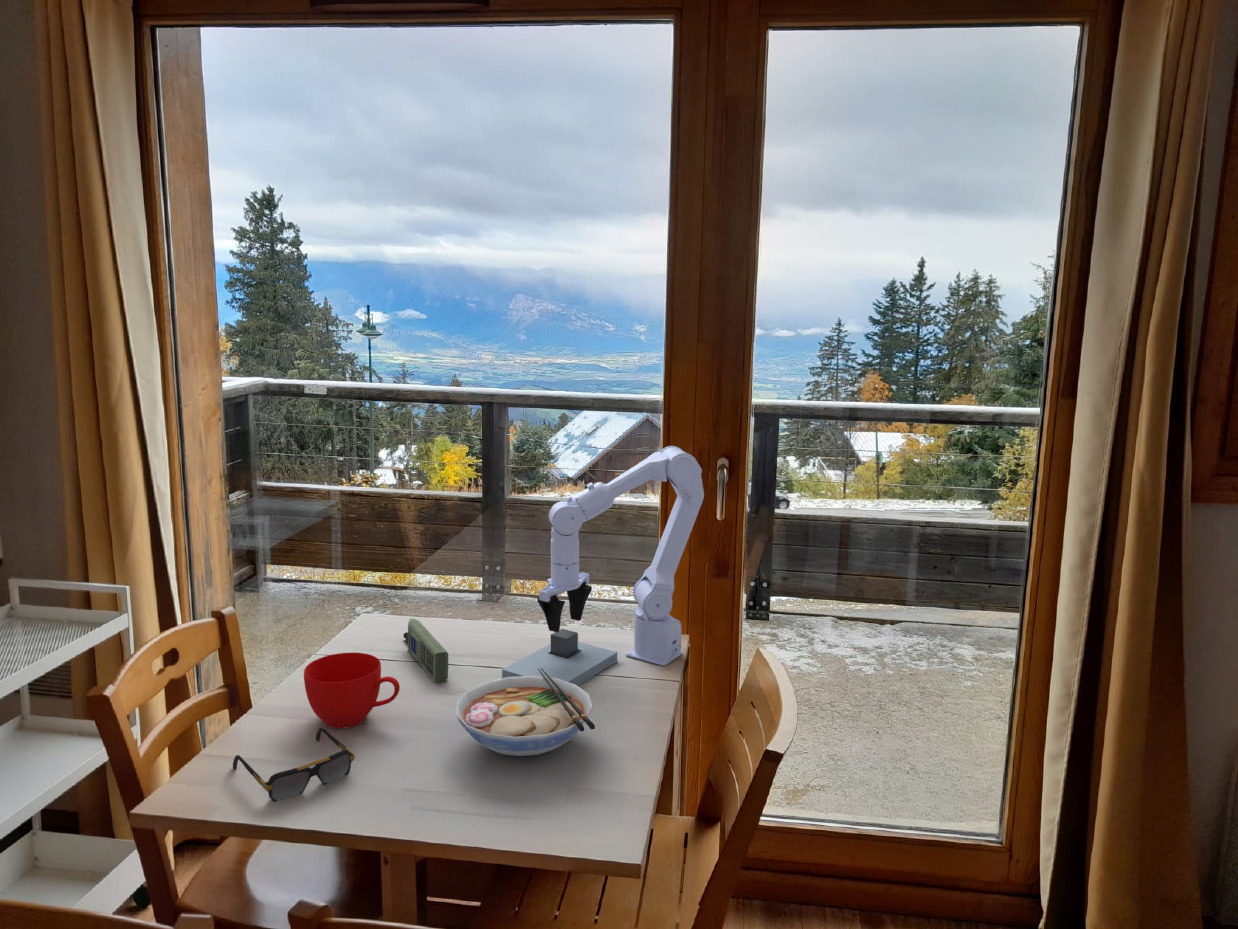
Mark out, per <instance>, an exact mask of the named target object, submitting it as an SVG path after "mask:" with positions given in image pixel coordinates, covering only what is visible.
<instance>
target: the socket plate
mask: <svg viewBox="0 0 1238 929" xmlns="http://www.w3.org/2000/svg"><path fill="white" fill-rule="evenodd" d="M617 662H618V651H614V650H610V649H608V648H607V649H606V648H603V647H599V646H596V645H593V644H588V643H584V642H580V641H578V653H577V654H576V655H574V656H572V657H570V658H568V659H566V658H563V657H559V656H556V655H552V654H551V643H550V644H548V645H545V646H543V647H542V648H540V649H538V650H537V651H535V652H532V653H531V654H528V655H527V656H525V657H522V658H521V659H519V660H517V661H515V662H514V663H512V664H510V665H508V666H506V667H504V668H502V670H501V677H502V678H506V677H519V676H539V677H543V676H542V675H541V673H540V672H539V670H540V671H541V672H542V674H543V675H544V676H545V677H547V676H546V674H545V673H544V672H543V671H542V670H541V668H542V669H543V670H544V671H545V672H546V673H547V675H548V676H549V677H550V678H557V679H560V680H563V681H566V682H569V683H572V684H575V685H577V686H578V687H579V685H582V683H584V682H585V681H588V680H589V679H591V678H593V677H595V676H596V675H598V674H599V673H601V672H602V671H604V670H606V669H607V668H609V667H610V666H612V665H614V664H615V663H617ZM611 664H612V665H611ZM606 667H607V668H606ZM538 668H539V670H538ZM605 668H606V669H605ZM603 669H604V670H603ZM600 671H601V672H600ZM598 672H599V673H598ZM595 674H596V675H595ZM592 676H593V677H592ZM502 678H501V679H502Z"/></svg>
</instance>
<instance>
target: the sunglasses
mask: <svg viewBox="0 0 1238 929" xmlns="http://www.w3.org/2000/svg"><path fill="white" fill-rule="evenodd" d="M322 733H323V734H324V735H326V737H327V738H328V739H329V740H330V741H331V742H333V744H334V745H335V746H337V747H338V748H339V749H340V750H339V751H338V752H335V753H332V754H331V755H328V756H326V757H322V758H320V759H317V760H314V761H311V762H307V763H305V764H304V765H303V764H302V765H301V766H298V767H297V766H296V767H293V768H290V769H287V770H283V771H280V772H275V773H274V774H272V775H270V777H269V779H268V781H266V782H265V781H264V780H263V778H262V777H261V776H260V774H258V773H257V771H255V770H254V769H253V767H252V766H250V764H249V763H248V762H247V761H246V760H245V759H243V757H242V756H241V755H240V754H237V755H235V756H234V758H233V762H232V769H233V770H234V771H236V770H237V766H238V762H239V761H240V762H241V763H242V765H243V766H244V768H245V769H246V770H247V771H248V772H249V774H250V775H251V776H252V777H253V778H254V780H255V781H257V783H258V784H259V785H260V786H261V787H262V788H263V790H265V791H266V792H267V793H268V794H267V795H268V797H269V798H270V800H271V801H272V802H274V801H275V802H277V801H279V800H282V799H283V800H284V799H286V797H287V798H290V797H293V796H296V795H301V794H303V793H304V791H305V790H306V788H307V786H308V784H309V782H310V781H311V778H313V777H315V776H316V777H317V779H318V780H319V781H320V782H321V784H322V785H323V786H324V785H327V784H328V783H331V782H334V781H336V780H338V779H340V778H341V777H344V776H348V775H349V774H350V772H351V767H352V766H351V765H352V762H353V761H355V760H356V754H354V753H353V751H351V750H350V749H348V747H346V746H345V745H344V744H343V743H342V742H341V741H339V740H338V739H337V738H336V737H335V736H334V735H332V734H331V733H330V732H328V731H327V729H325V728H324V727H320V728H319V727H318V730H317V732H316V734H315V741H316V742H317V743H318V742H320V740H321V735H322ZM278 799H279V800H278Z"/></svg>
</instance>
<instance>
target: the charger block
mask: <svg viewBox="0 0 1238 929" xmlns="http://www.w3.org/2000/svg"><path fill="white" fill-rule="evenodd" d="M578 642H579V633H578V631H577V632H576V631H573V630H569V629H565V628H560V629H559V632H553V633H551V634H550V644H551V654H552V655H556V656H559V657H563V658H566V659H568V658H570V657H572V656H574V655H576V654H577V653H578Z"/></svg>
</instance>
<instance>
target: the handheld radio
mask: <svg viewBox="0 0 1238 929" xmlns="http://www.w3.org/2000/svg"><path fill="white" fill-rule="evenodd" d="M408 620H409V621H408V624H407V632H404V633H403V638H404V639H405V640H406V642H407V650H408V652H409V653H410V654H411V655H412V657H414V659H415V660H416V661H417V663H418V664H419V665H420V667H421V668H422V669H423V670H424V671H425V673H426V674H427V675H428V677H429V678H430V679H431V680H432V681H433V683H434V684H435V685H436V684H437V685H438V684H439V685H440V684H443V683H446V682H447V680H448V678H449V653H448V651H447V650H446V649H445V648H444V647H443V645H441V643H440V642H439V641H438V640H437V638H435V636H433V634H432V633H431V632H430V631H429V630H428V629H427V627H425V626H424V625H423V623H422V622H421V621H420V620H419V619H416V618H413V617H412V618H409V619H408Z"/></svg>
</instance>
